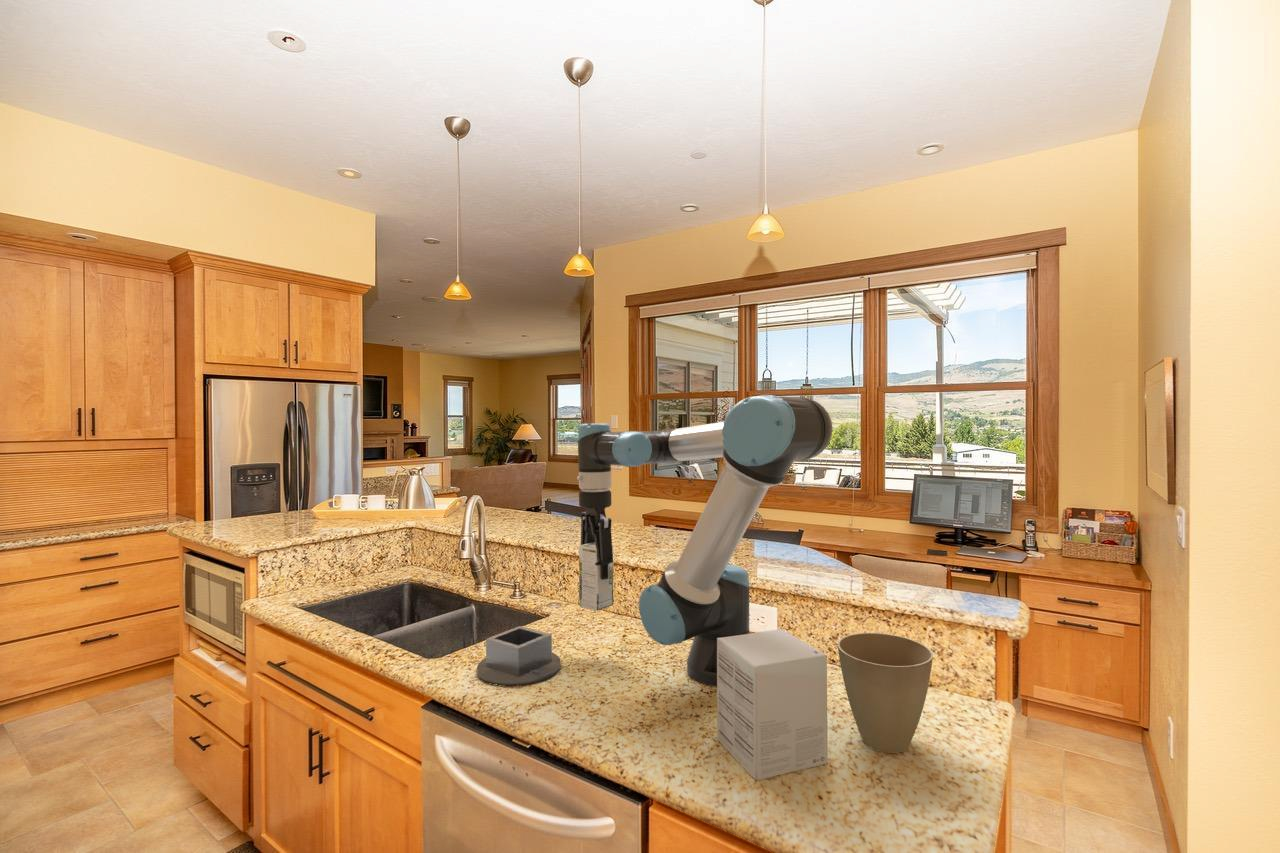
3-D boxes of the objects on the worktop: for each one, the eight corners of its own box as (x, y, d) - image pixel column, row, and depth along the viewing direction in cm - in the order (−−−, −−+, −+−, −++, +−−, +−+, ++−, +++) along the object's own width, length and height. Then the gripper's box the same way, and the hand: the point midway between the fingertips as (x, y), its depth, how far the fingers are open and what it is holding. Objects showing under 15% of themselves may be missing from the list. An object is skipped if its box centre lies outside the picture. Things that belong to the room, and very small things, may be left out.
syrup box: (596, 601, 145) (595, 540, 145) (614, 605, 141) (613, 543, 141) (579, 607, 141) (577, 544, 141) (597, 611, 137) (596, 547, 137)
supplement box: (782, 725, 108) (782, 627, 108) (829, 764, 96) (829, 654, 96) (715, 739, 104) (714, 636, 103) (755, 782, 91) (755, 666, 91)
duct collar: (577, 664, 136) (577, 632, 136) (518, 694, 121) (517, 658, 121) (520, 647, 146) (520, 618, 146) (459, 672, 131) (459, 640, 131)
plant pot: (840, 714, 112) (840, 628, 112) (929, 729, 107) (929, 638, 106) (835, 756, 98) (834, 657, 98) (937, 775, 93) (937, 671, 93)
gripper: (565, 487, 148) (567, 580, 148) (595, 495, 130) (597, 602, 130) (594, 485, 152) (596, 577, 152) (627, 492, 133) (629, 597, 133)
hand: (596, 588), depth 141 cm, fingers closed on syrup box, 7 cm apart
